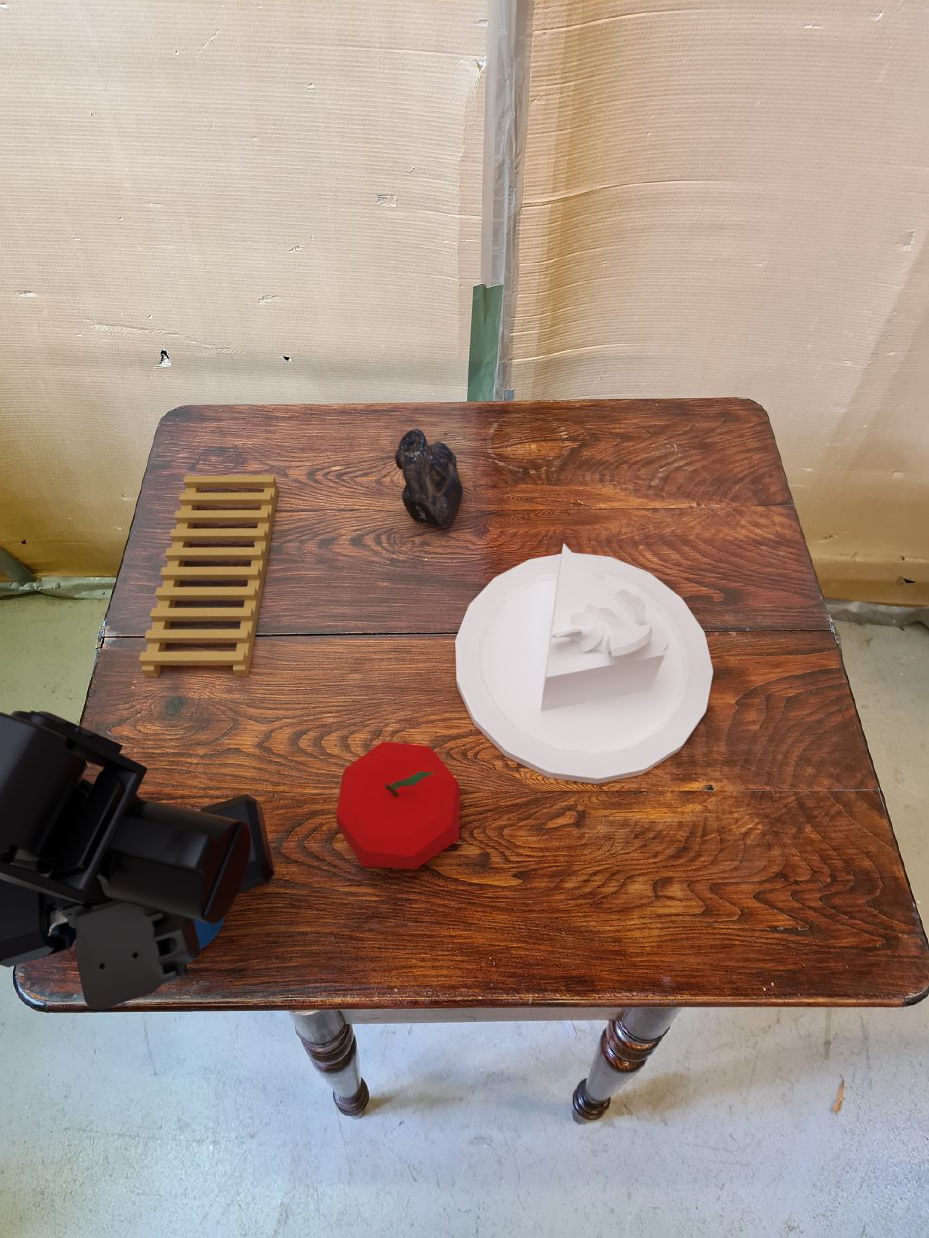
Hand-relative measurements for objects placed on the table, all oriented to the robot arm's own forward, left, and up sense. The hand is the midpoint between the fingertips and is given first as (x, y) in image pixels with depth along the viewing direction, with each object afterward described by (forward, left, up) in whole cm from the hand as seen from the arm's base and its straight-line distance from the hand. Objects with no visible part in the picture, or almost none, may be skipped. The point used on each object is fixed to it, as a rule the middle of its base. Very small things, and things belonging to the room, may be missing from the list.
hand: (171, 904), depth 62 cm
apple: (+19, +2, -5) cm, 20 cm away
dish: (+40, +12, -5) cm, 42 cm away
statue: (+32, +35, -5) cm, 48 cm away
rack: (+7, +34, -4) cm, 35 cm away
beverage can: (0, 0, -5) cm, 5 cm away
